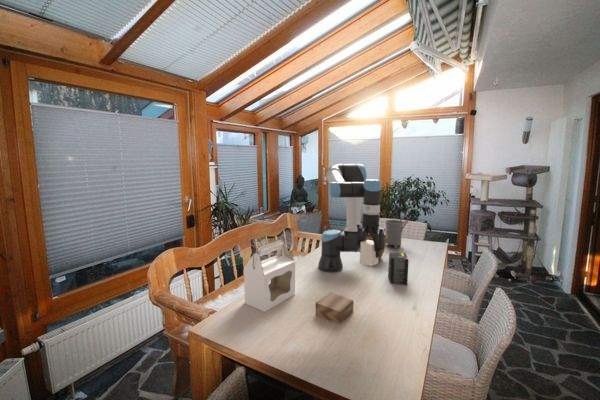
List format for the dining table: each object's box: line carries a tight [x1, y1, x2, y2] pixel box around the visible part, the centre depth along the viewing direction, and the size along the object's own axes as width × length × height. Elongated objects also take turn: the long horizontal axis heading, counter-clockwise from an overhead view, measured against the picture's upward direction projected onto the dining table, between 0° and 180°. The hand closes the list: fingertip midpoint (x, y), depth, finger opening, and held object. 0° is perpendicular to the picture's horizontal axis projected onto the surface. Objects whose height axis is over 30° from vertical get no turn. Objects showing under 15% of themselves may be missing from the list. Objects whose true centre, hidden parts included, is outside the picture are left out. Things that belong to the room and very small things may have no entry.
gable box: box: [243, 239, 296, 313], centre depth 138 cm, size 22×13×28 cm, turn 142°
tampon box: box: [387, 251, 409, 286], centre depth 161 cm, size 11×9×15 cm
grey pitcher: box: [384, 215, 410, 250], centre depth 223 cm, size 19×15×25 cm
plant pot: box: [366, 233, 387, 261], centre depth 196 cm, size 15×15×16 cm
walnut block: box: [315, 292, 354, 325], centre depth 126 cm, size 12×12×6 cm
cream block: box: [359, 240, 375, 267], centre depth 134 cm, size 6×6×10 cm
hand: (369, 261), depth 135 cm, fingers closed on cream block, 6 cm apart
